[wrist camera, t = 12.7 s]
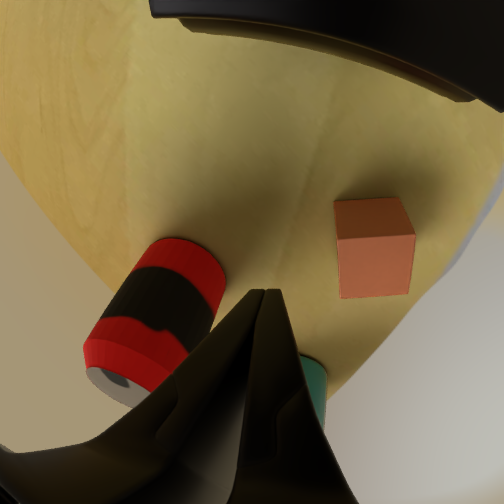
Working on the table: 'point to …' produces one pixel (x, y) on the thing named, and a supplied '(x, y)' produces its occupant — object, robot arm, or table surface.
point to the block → (373, 247)
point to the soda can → (154, 320)
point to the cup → (316, 386)
